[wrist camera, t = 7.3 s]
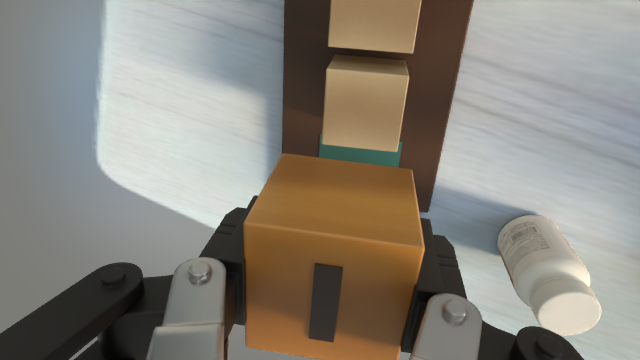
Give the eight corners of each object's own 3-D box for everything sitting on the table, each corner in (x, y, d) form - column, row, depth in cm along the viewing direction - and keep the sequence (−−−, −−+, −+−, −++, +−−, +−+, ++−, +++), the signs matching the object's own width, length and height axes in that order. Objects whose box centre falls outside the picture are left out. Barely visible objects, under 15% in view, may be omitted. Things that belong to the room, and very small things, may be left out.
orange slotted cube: (281, 151, 14) (241, 223, 10) (413, 168, 13) (426, 250, 9) (278, 255, 16) (243, 350, 12) (392, 272, 15) (395, 376, 11)
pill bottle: (486, 253, 31) (515, 331, 24) (510, 206, 29) (549, 277, 22) (542, 267, 31) (586, 350, 24) (570, 221, 29) (628, 297, 22)
